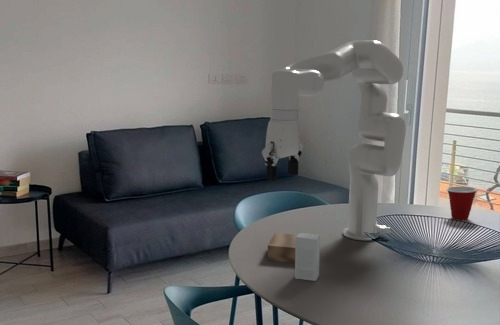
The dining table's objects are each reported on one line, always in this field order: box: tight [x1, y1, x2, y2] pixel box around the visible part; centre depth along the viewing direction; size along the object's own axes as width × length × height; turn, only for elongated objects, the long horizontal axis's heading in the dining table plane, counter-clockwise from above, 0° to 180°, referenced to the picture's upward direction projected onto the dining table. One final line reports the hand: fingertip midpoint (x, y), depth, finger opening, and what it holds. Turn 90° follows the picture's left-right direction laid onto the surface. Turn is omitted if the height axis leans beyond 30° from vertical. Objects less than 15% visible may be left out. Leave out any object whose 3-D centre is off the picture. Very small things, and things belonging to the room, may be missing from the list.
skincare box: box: [294, 232, 321, 282], centre depth 149 cm, size 6×4×12 cm
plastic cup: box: [446, 185, 478, 221], centre depth 206 cm, size 11×11×12 cm
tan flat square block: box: [267, 232, 298, 264], centre depth 166 cm, size 12×12×5 cm
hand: (282, 177), depth 151 cm, fingers open, 9 cm apart
